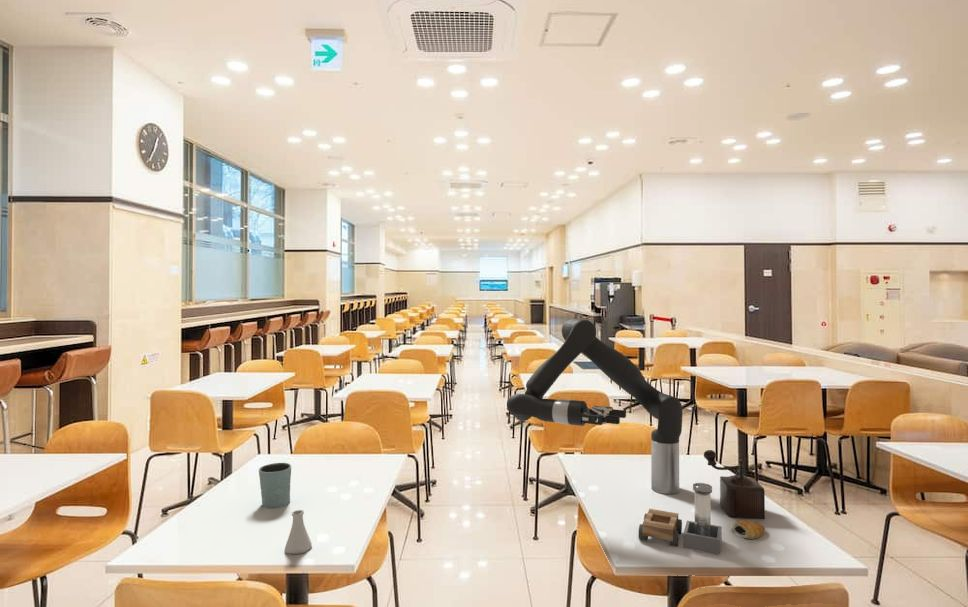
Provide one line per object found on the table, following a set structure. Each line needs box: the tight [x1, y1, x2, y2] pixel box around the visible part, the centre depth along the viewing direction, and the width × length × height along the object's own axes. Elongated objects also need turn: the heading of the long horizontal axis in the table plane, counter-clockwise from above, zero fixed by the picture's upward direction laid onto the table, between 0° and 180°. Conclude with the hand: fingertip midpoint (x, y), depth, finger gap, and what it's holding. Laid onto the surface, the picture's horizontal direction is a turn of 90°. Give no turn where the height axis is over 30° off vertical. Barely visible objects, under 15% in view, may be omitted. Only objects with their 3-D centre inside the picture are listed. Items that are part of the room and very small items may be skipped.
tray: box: [682, 520, 723, 556], centre depth 144 cm, size 9×9×4 cm
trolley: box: [638, 508, 683, 548], centre depth 150 cm, size 14×10×5 cm
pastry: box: [730, 519, 766, 540], centre depth 151 cm, size 9×7×4 cm
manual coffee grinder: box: [703, 449, 766, 520], centre depth 166 cm, size 16×11×18 cm
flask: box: [284, 509, 313, 555], centre depth 144 cm, size 7×7×10 cm
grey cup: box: [258, 462, 292, 509], centre depth 175 cm, size 10×10×12 cm
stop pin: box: [692, 482, 713, 537], centre depth 144 cm, size 5×5×15 cm
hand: (622, 417), depth 156 cm, fingers open, 8 cm apart
